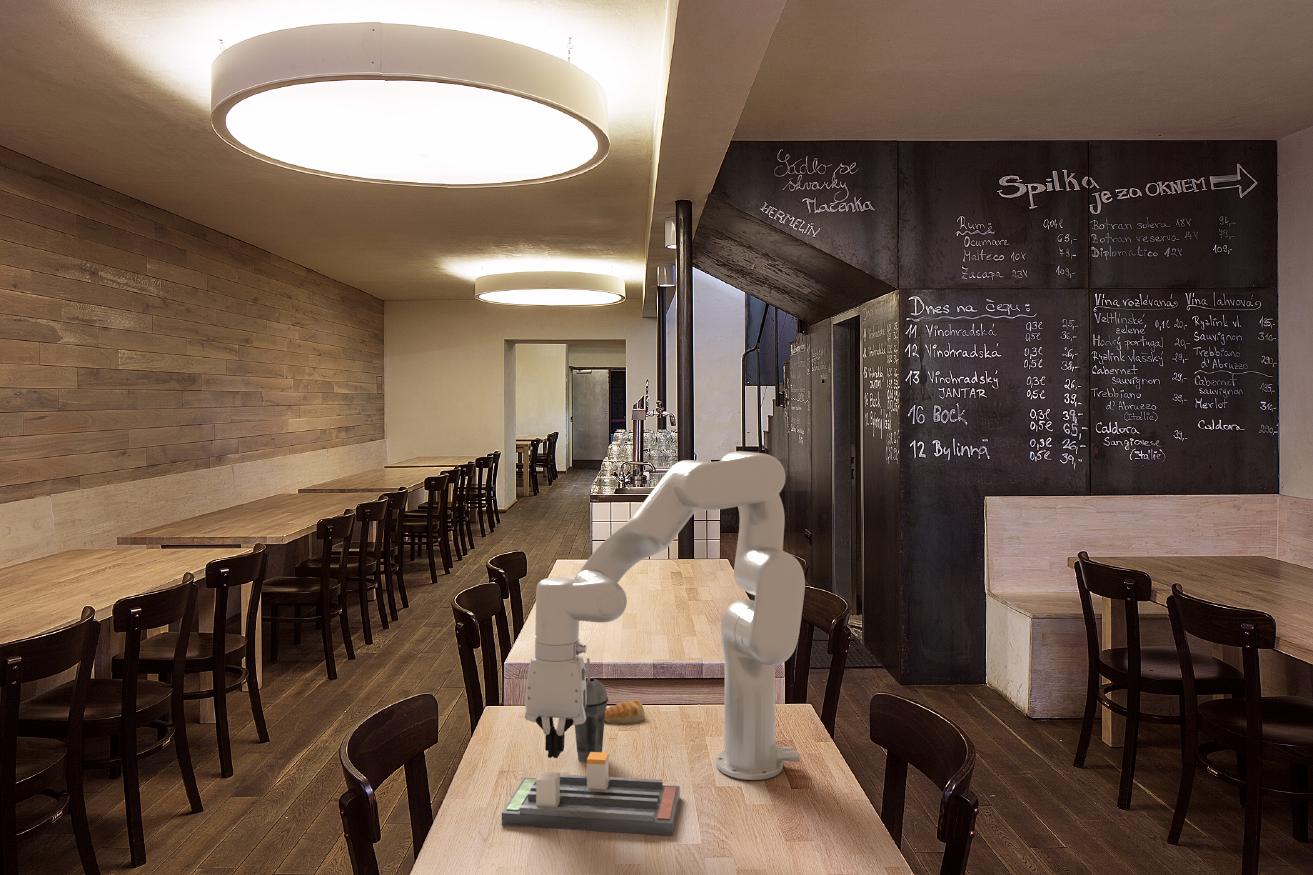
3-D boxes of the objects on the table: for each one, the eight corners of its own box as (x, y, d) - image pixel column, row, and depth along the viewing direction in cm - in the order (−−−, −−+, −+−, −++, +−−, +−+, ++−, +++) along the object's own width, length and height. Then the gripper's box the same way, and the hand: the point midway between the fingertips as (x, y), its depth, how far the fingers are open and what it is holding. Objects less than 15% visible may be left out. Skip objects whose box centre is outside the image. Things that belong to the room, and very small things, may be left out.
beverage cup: (611, 751, 161) (610, 651, 160) (605, 767, 153) (604, 662, 153) (575, 749, 161) (574, 650, 161) (567, 765, 154) (567, 661, 154)
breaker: (559, 802, 135) (559, 772, 135) (555, 810, 132) (555, 780, 132) (541, 800, 135) (541, 771, 135) (536, 809, 133) (536, 779, 132)
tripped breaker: (608, 785, 141) (608, 752, 141) (605, 793, 138) (605, 759, 138) (590, 784, 142) (590, 751, 141) (587, 792, 139) (586, 758, 138)
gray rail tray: (679, 797, 141) (679, 780, 141) (672, 835, 128) (672, 816, 128) (524, 788, 145) (524, 771, 145) (501, 824, 132) (501, 806, 132)
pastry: (606, 727, 173) (606, 710, 173) (597, 717, 180) (597, 700, 180) (647, 721, 177) (647, 704, 177) (636, 711, 183) (636, 694, 183)
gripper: (603, 646, 143) (601, 749, 143) (521, 641, 145) (519, 743, 145) (594, 658, 135) (592, 767, 136) (508, 653, 137) (506, 760, 138)
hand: (554, 754), depth 140 cm, fingers closed
